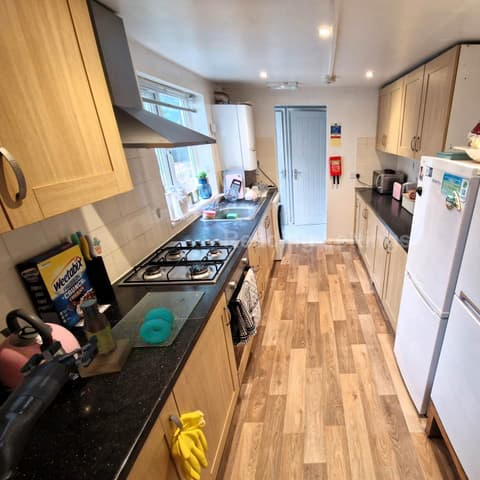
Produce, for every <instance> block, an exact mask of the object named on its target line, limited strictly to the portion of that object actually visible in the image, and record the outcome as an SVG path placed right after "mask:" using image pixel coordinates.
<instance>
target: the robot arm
mask: <svg viewBox="0 0 480 480" xmlns="http://www.w3.org/2000/svg"><path fill="white" fill-rule="evenodd" d="M97 343H98V339H97V337H96V336H95V335H94V336H91V338H90V339H89V340H88V339H87V342H86V343H85V345H83V346H82V347H80V348H75V349H73V350H72V351H69V352H66V353H58V352H59V351H60V349H61V348H62V346H63V345H62V342H61V341H60V340H56V341H54V342H53V343H52V344H51V345H50V346H49V347H48V348H47V349H45V350H44V351H42V353H41V352H40V353H39V352H37V353H34V354H33V355H32V356H30V358H29V359H28V360H27V361H26V362H25V364H24V365H23V366H22V367H21V369H20V370H19V372H20V373H21V375H22V377H23V380H21V382H20V383H19V384H18V385H17V386H16V387H15V388H14V390H13V391H12V392H11V393H10V394H9V396H8V397H7V399H6V400H5V402H4V403H3V404H2V405H1V406H0V480H7V478H8V477H10V476H11V474H12V473H14V471H15V470H16V468H17V466H18V465H19V463H20V461H21V458H22V457H23V452H24V450H25V447H26V444H27V441H28V439H29V437H30V434H31V431H32V429H33V427H35V424H36V423H37V422H38V420H39V419H40V417H41V416H42V414H43V413H44V412H45V410H46V409H47V408H48V407H49V406H50V405H51V404H52V403H53V401H54V400H55V398H56V397H57V395H58V394H59V392H61V389H62V388H63V387H64V385H65V384H66V383H67V381H68V380H69V378H70V376H71V373H72V371H73V370H74V369H76V368H78V367H79V366H83V367H84V368H87V367H88V366H89V365H90V364H91V363H92V361H93V360H94V359H95V357H96V356H97V354H98V353H99V349H98V346H97ZM57 353H58V354H57ZM75 355H77V358H76V357H75Z"/></svg>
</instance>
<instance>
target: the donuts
mask: <svg viewBox="0 0 480 480" xmlns="http://www.w3.org/2000/svg"><path fill="white" fill-rule="evenodd" d="M174 322H175V316H174V313H173V312H172V311H171V310H169V309H168V308H164V307H156V308H154V309H152V310H149V311H148V312H147V313H146V314H145V317H144V323H143V324H142V325H141V327H140V328H139V336H140V338H141V339H142V340H143V341H144V342H145V343H149V344H160V343H162V342H164V341H166V340H167V339H169V337H170V336H171V333H172V325H173V324H174Z"/></svg>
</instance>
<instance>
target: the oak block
mask: <svg viewBox="0 0 480 480" xmlns="http://www.w3.org/2000/svg"><path fill="white" fill-rule="evenodd" d="M115 341H116V345H117V347H116V349H115V350H114V351H113V352H112V353H110V354H108V355H106V356H101V357H100V356H99V357H98V356H96V357H95V359H94V360H93V361H92V363H91V364H90V365H89V366H88V367H87V368H84V367H83V366H77V372H78V373H79V375H80V377H81V379H83V378H88V377H94V376H98V375H105V374H110V373H115V372H121V371H122V370H123V367H124V366H125V364H126V362H127V360H128V357H129V356H130V354H131V353H132V350H133V349H134V345H133V341H132V339H131V337H129V338H124V339H117V340H116V339H115Z"/></svg>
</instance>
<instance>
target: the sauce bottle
mask: <svg viewBox="0 0 480 480" xmlns="http://www.w3.org/2000/svg"><path fill="white" fill-rule="evenodd" d="M78 307H79V309H80V311H81V312H82V315H83V323H82V329H83V332H84V333H85V336H86V339H87V341H88V340H89V339H90V338H91V336H94V335H95V336H96V337H97V339H98V343H97V346H98V349H99V353H98V354H97V356H98V357H99V356H100V357H101V356H106V355H108V354H110V353H112V352H113V351H114V350H115V349H116V347H117V345H116V337H115V335H114V333H113V330H112V328H111V325H110V322H109V320H108V318H107V316H106V314H105V313H102V312H101V311H100V310H99V307H98V302H97V300H96V299H95V298H94V299H93V298H92V299H87V300H84V301H82V302H81V303H80V304H79V305H78Z"/></svg>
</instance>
